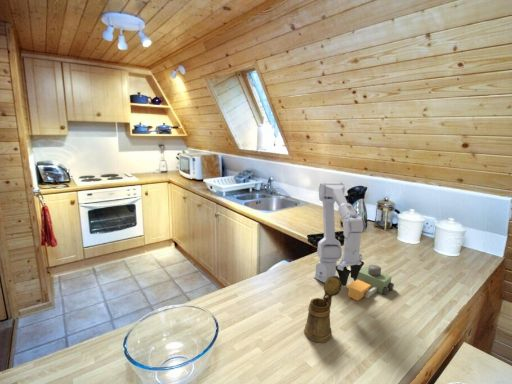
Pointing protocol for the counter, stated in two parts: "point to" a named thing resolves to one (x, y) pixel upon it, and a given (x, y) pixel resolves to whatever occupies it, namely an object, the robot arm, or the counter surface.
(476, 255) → the counter surface
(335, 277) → the wooden mug
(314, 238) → the egg carton
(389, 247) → the counter surface
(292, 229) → the counter surface
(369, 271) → the mower housing
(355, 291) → the orange slab
